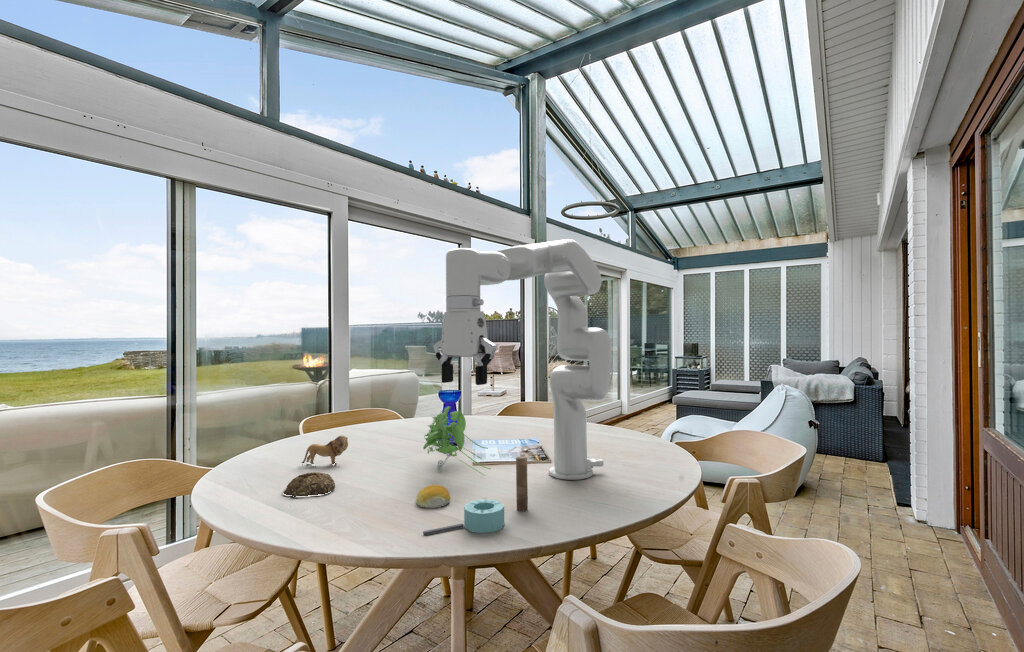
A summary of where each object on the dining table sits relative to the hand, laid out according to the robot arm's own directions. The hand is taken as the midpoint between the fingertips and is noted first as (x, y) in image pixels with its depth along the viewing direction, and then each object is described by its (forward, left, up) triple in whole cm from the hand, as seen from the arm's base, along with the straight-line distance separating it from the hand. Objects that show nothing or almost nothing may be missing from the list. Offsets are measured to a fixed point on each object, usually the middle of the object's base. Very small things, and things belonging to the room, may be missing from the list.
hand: (464, 383), depth 107 cm
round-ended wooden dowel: (-14, -5, -30) cm, 34 cm away
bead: (-4, +2, -30) cm, 31 cm away
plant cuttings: (-2, -42, -31) cm, 52 cm away
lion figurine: (+38, -58, -31) cm, 76 cm away
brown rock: (+38, -32, -31) cm, 59 cm away
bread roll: (+6, -15, -31) cm, 35 cm away
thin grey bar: (+5, +3, -30) cm, 31 cm away
